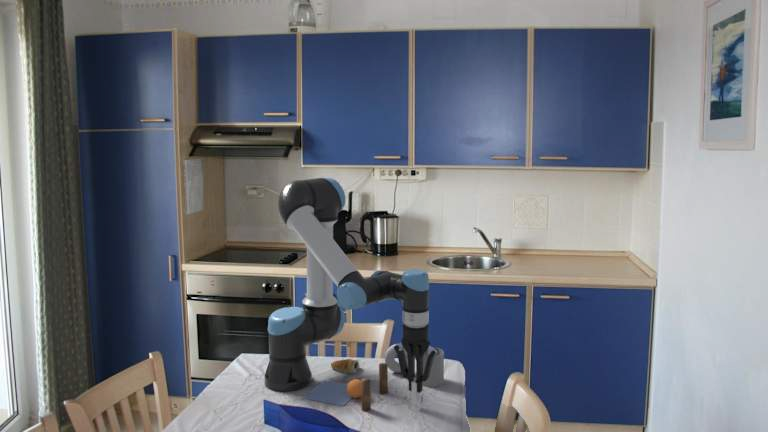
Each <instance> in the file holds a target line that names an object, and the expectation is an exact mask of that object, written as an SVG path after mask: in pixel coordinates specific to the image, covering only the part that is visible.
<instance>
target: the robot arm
mask: <svg viewBox="0 0 768 432" xmlns="http://www.w3.org/2000/svg"><path fill="white" fill-rule="evenodd" d="M277 199H278V200H277V208H278V213H279V215H280V219H282V221H283V223H284V224H285V225H286V227H287V228H288V229H290V230H294V231H295V233H296V234H297V236H298V237H299V238H300V239H301V241H302V243H304V245H305V247H306V296H305V297H304V298H303V299H302V301H301V302H302V304H301V307H300V306H290V307H283V308H278V309H276V310H275V311H273V312H272V313H271V314H270V315H269V316H268V317H269V318H268V321H267V322H268V325H267V332H268V354H269V355H268V356H269V357H268V359H269V360H268V363H267V367H266V370H265V373H264V385H265V387H266V388H267V389H270V390H272V391H273V390H274V391H279V392H290V391H297V390H301V389H304V388H306V387H308V386H309V385H311V383H312V382H313V373H312V371H311V366H310V365H309V362H308V359H307V346H310V345H313V344H317V343H320V342H322V341H325V340H327V341H328V340H330V339H332V338H333V337H337V336H338V335H339V334H340V333H341V332H342V330H343V329H344V326H345V323H346V322H345V318H346V316H345V312H344V311H343V309H345V310H348V311H349V310H356V309H361V308H363V307H365V306H368V305H372V304H375V303H379V302H383V301H387V300H393V301H399V302H402V306H401V307H402V323H403V324H402V338H401V342H400V343H399V342H398V343H396V344H397V345H395V346H394V349H395V351H396V353H397V355H396V356H397V359H398V363H399V364H400V369H401V373H400V374H401V377H402V378H403V379H407V380H408V391H409V392H411V404H414V405H418V403H419V401H420V399H421V398H420V396H421V395H420V394H421V392H422V391H423V388H424V386H423V381H424V382H425V381H426V380H427V379H428V378H429V375H430V371H431V367H432V363H433V359H434V356H435V354H436V353H437V352H438V350H437V349H436V348H437V347H434V348H435V349H434V348H432V347H433V346H431V342H430V340H429V339H430V333H429V331H430V329H429V328H430V326H429V323H430V320H429V319H430V318H429V317H430V313H429V312H430V310H429V309H430V307H429V302H430V301H429V299H430V281H429V280H430V279H429V278H430V277H429V273H428V272H427V271H426V270H423V269H417V268H416V269H415V268H414V269H413V268H412V269H411V268H410V269H407V270H405V271H403V272H402V274H400V273H397V272H396V273H395V272H391V271H389V270H375V271H374V272H373V273H372V274H371V276H368V277H364V276H363V275H362V273H361V272H360V271H359V270H358V269H357V267H356V266H355V265H354V264H353V263H352V261H351V260H350V258H349V257H348V256H347V255H346V254H345V252H344V251H343V250H342V248H341V247H340V246H339V243H337V242H336V240H335V239H334V224H336V223H337V222H338V220H339V213H340V212H341V211H342V210H343V209H344V208H345V205H346V193H345V191H344V188H343V187H342V185H341V184H340V182H338V181H337V180H336V179H334V178H332V177H317V178H310V179H309V178H307V179H300V180H293V181H291V182H289V183H287V184H285V186H284V187H283V188H282V189H281V191H280V192H279V195H278V198H277ZM334 284H335V286H336V287H337V290H336V297H335V296H334ZM403 349H405V350H406V352H407V358H408V366H407V362H406V358H405V353H404V350H403ZM427 349H428V355H429V356H428V358H427V362H426V366H425V370H424V374H423V357H424V353H425V352H426V351H427Z"/></svg>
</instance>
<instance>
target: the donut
mask: <svg viewBox="0 0 768 432" xmlns="http://www.w3.org/2000/svg"><path fill="white" fill-rule="evenodd" d="M397 344H398V343H394V344H392V345H391V346H389V347H388V348H387V349H386V351H385V353H384V363H386V364H388V369H389V370H390V371H391V372H393V373H396V374H402V373H401V369H400V364H399V361H397V360H396V359H395V357H396V356H397V353H396V351H395V349H394V346H395V345H397ZM403 350H404V353H405V358H406V362H407V366H408V358H407V352H406V350H405V349H403Z"/></svg>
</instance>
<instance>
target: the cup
mask: <svg viewBox="0 0 768 432" xmlns="http://www.w3.org/2000/svg"><path fill="white" fill-rule="evenodd" d="M431 347H432V348H434V349H435V348H436V349H437V350H438V352H437V353H436V354H435V356H434V359H433V363H432V367H431V371H430V375H429V378H428V379H427V380H426V381H425V382H424V381H423V387H427V388H436V387H440V386H441V385H444V382H445V381H444V380H445V379H444V375H445V373H444V372H445V370H444V369H445V351H444V350H443V349H441V348H439V347H433V346H431ZM428 356H429V355H428V349H427V351H426V352H425V353H424V357H423V374H424V370H425V366H426V362H427V358H428Z"/></svg>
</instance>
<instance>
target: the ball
mask: <svg viewBox="0 0 768 432" xmlns="http://www.w3.org/2000/svg"><path fill="white" fill-rule="evenodd" d="M347 393H348V394H349V396H351V397H352V399H359V398H362V394H361V379H352V380H350V381H349V382H348V383H347Z"/></svg>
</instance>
